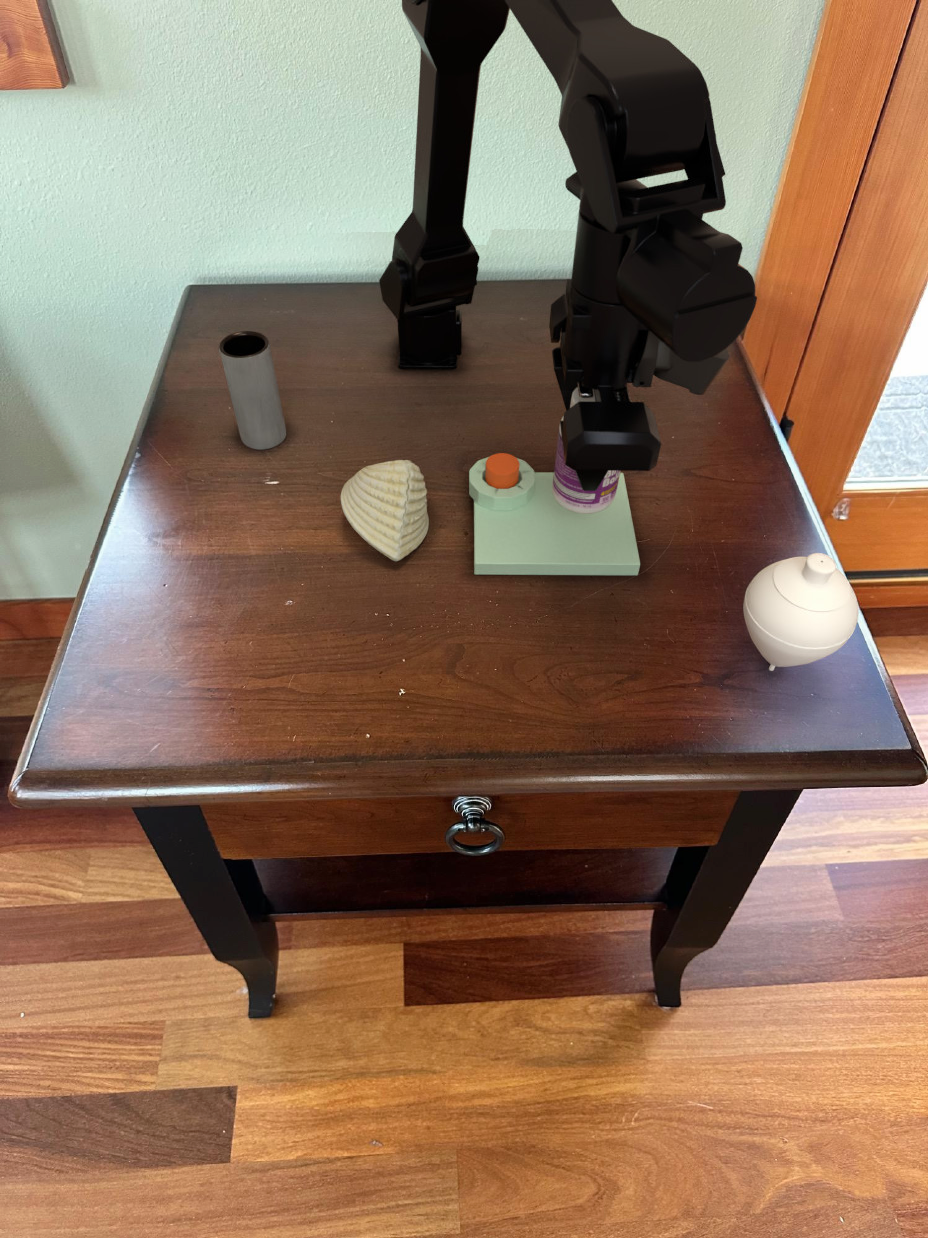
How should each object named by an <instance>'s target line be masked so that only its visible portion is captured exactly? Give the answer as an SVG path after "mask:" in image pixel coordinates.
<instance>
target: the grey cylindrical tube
mask: <svg viewBox="0 0 928 1238" xmlns="http://www.w3.org/2000/svg"><path fill="white" fill-rule="evenodd" d="M218 351H219V355H220V360H221V363H222V367H223V371H224V377H225V379H226V383H227V387H228V391H229V397H230V401H231V403H232V408H233V413H234V416H235V420H236V424H237V429H238V433H239V437H240V439H241V442H242V444H244V446H246V447H247V448H250V449H253V450H268V449H272V448H275V447H277V446H279V445H280V444H282V443H283V442H284V441H285V439H286V437H287V427H286V422H285V421H286V420H285V417H284V412H283V405H282V401H281V395H280V391H279V390H280V389H279V386H278V380H277V375H276V370H275V365H274V360H273V354H272V349H271V344H270V340H269V338H268V337H267V336H266V335H265V334H263V333H261V332H258V331H254V330H242V331H237V332H236V331H235V332H233V333H230V334H228V335H226V336H225V337H224V338H222V339H221V341H220V342H219V345H218Z"/></svg>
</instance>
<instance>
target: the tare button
mask: <svg viewBox="0 0 928 1238" xmlns="http://www.w3.org/2000/svg"><path fill="white" fill-rule="evenodd" d="M488 457H489V458H488V459H487V461H486V472H485V480H486V482H487V484H488V485H490V486H491V487H494V488H497V489H509V488H511V487H514V486H515V485H516V484H517V482H518V479H519V461H518V459H519V458H518V457H516V456H514V455H512V454H509V453H507V452H506V453H504V452H499V453H495V454H492V455H490V456H488ZM517 458H518V459H517Z"/></svg>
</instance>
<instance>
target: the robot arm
mask: <svg viewBox="0 0 928 1238" xmlns="http://www.w3.org/2000/svg"><path fill="white" fill-rule="evenodd" d="M401 10H402V12H403V15H404V17H405V18H406V21H407V22H408V25H409V27H410V28H411V30H412V33H413V35H414V36H415V38H416V40H417V43H418V44H419V47H420V59H419V61H420V62H419V79H418V80H419V82H418V95H417V96H418V99H417V118H416V137H415V138H416V140H415V153H414V154H415V155H414V156H415V157H414V172H413V173H414V175H413V193H412V194H413V195H412V197H413V198H412V210H411V212H410V214H409V215H408V216H407V218H405V221H404V222H403V224H402V225H401V226H400V227H399V229H398V230H397V232H396V233H395V235H394V239H393V247H392V255H391V260H390V261H389V262H388V264H387V266H386V268H385V270H383V273H382V275H381V276H380V277H379V280H378V281H379V288H380V292H381V300H382V302H383V303H384V305H385V306H386V307H387V308H388V310H389V311H390V312H391V313H392V315H393V316H394V318H395V319H396V321H397V336H398V337H397V339H398V357H397V368H398V369H399V370H445V371H446V370H451V371H452V370H456V369H457V368H458V357H460V356H461V355H462V351H463V350H462V348H463V346H462V345H463V341H462V340H463V337H462V336H463V333H462V332H463V311H462V310H461V309H460V308H457V307H459V306H463V305H471V304H472V301H473V296H474V293H475V288H476V286H477V285H478V274H479V263H480V257H481V256H480V255H479V253H478V251H477V249H476V247H475V245H474V243H473V241H472V240H471V238H470V236H469V234H468V232H467V230H466V228H465V227H464V218H465V208H466V202H467V201H466V200H467V191H468V182H469V174H470V165H471V163H470V162H471V156H472V147H473V138H474V137H473V136H474V129H475V121H476V111H477V110H476V109H477V103H478V102H477V101H478V94H479V93H478V92H479V85H480V75H481V67H482V64H483V63H484V61H485V60H486V58H487V56H488V55H489V54H490V52H491V51H492V50H493V48H494V46H495V45H496V44H497V42H498V41H499V39H500V38H501V36H502V35H503V33H504V32H505V30H506V27H507V25H508V20H509V16H510V11H511V13H512V14H513V16H514V18H515V19H516V21H517V23H518V24H519V25H520V27H521V29H522V30H523V32H524V33H525V35H526V37H527V38H528V40H529V41H530V43H531V45H532V46H533V47H534V49H535V51H536V52H537V54H538V56H539V57H540V59H541V60H542V62H543V63H544V65H545V66H546V69H547V70H548V72H549V73H550V75H551V76H552V78H553V79H554V82H555V83H556V86H557V88H558V90H559V92H560V94H561V102H560V108H559V115H558V128H559V131H560V134H561V136H562V138H563V140H564V142H565V145H566V147H567V149H568V152H569V155H570V158H571V160H572V161H571V162H572V163H573V166H574V169H575V172H574V173H572V174H571V175H570V176H567V178H566V180H565V183H564V184H565V189H566V190H567V191H568V192H569V193H571V194H572V195H573V196H575V198H576V199H578V200H579V206H578V214H577V223H576V231H575V232H576V233H575V240H574V241H575V243H574V251H573V260H572V270H571V278H569V279H568V278H567V279H566V283H565V284H566V286H565V293H563V294H562V295H560V296H559V297H558V298H557V299H556V300H554V301H553V302H552V303H551V304H550V311H549V312H550V314H549V324H548V328H549V336H550V343H551V344H559V346H557V347H554V348H553V349H552V350H551V354H552V355H551V356H552V363H553V371H554V374H555V378H556V381H557V384H558V388H559V391H560V394H561V398H562V402H563V404H564V408H565V411H564V413H563V416H564V419H563V421H561V420H560V421H559V425H560V426H561V435H562V443H563V450H564V459H565V465H566V466H568V467H570V468H571V469H573V470H575V472H576V474H577V477H578V480H579V482H580V485H581V487H582V490H583V491H596V490H597V489H598V487H599V485H600V484H601V482H602V480H603V479H604V477H605V475H606V474H607V472H608V471H620V472H621V471H625V472H627V471H628V472H629V471H630V472H650V471H651V470H652V469H654V468H655V467H657V464H658V460H659V456H660V452H661V448H662V440H661V436H660V432H659V428H658V427H659V426H658V423H657V420H656V414H655V412H653V410H652V409H651V408H650V407H649V406H648V405H647V404H646V403H645V402H644V401H632V400H631V397H630V393H629V388H628V384H632V386H633V388H651V387H652V384H653V379H654V377H656V378H658V379H659V380H661V381H664V382H667V383H670V384H672V385H675V386H678V387H682V388H684V389H686V390H688V391H689V393H691V394H693V395H697V396H703V395H705V394H706V392H707V391H708V390H709V388H710V387H711V385H712V384H713V382H714V381H715V379H716V378H717V377H718V375H719V373H720V372H721V371H722V369H723V368H724V366H726V364H727V362H728V361H729V360H730V353H729V351H728V348H729V346H731V345H732V344H733V343H734V342H735V341H736V340H737V339H738V337H739V336H740V335H741V334H742V332H743V331H744V330H745V328H746V327H747V325H748V324H749V322H750V320H751V318H752V316H753V313H754V310H755V308H756V304H757V300H758V296H756V284H755V280H754V277H753V275H752V273H750V271H749V270H748V269H746V268H745V267H744V266H742V265H741V264H740V260H741V256H742V252H743V244H742V242H740V241H739V240H737V238H736V237H734V236H732V235H731V234H728V233H725V232H723V231H719V230H717V229H716V227H713V226H712V225H711V224H709V223H708V222H707V221H705V220H704V219H703V217H704V214H709V213H713V212H717V211H722V210H724V209H725V207H726V205H727V199H726V193H725V188H724V187H725V186H724V180H723V177H724V176H726V171H725V167H724V163H723V160H722V157H721V152H720V150H719V146H718V142H717V133H716V128H715V123H714V117H713V110H712V103H711V99H710V91H709V88H708V84H707V81H706V79H705V77H704V75H703V73H702V71H701V69H700V68H699V67H698V65H696V64H695V63H694V62H693V61H692V60H691V59H690V58H689V57H688V56H687V55H686V54H684V53H683V52H682V51H681V49H680V48H678V47H677V46H676V45H675V44H673V42H671V41H670V40H669V39H667V38H666V37H665V38H664V37H662V36H660V35H658V34H655V33H652V32H650V31H647V30H646V29H642V28H641V27H638V26H635V25H633V23H631V22H630V21H629V20H628V19H626V17H625V16H624V15H623V14H622V13H621V11H620V9H619V8H618V7H617V5H616V4H615V2H614V1H613V0H401ZM680 171H684V173H685V175H686V177H687V179H683V180H678V181H672V182H668V183H662V184H658V185H652V186H646V185H645V184H644V183H642V182H641V181H639V179H640V180H641V179H645V178H650V177H654V176H660V175H666V174H669V173H675V172H680ZM577 387H578V393H579V397H581V398H592V397H593V395H594V396H595V402H586V401H579V402H578V403H576V404H575V405H574V406H572V407H571V408H570V404H571V398H572V393H573V391H574V390H575V389H576V388H577ZM593 389H594V393H593Z"/></svg>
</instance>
